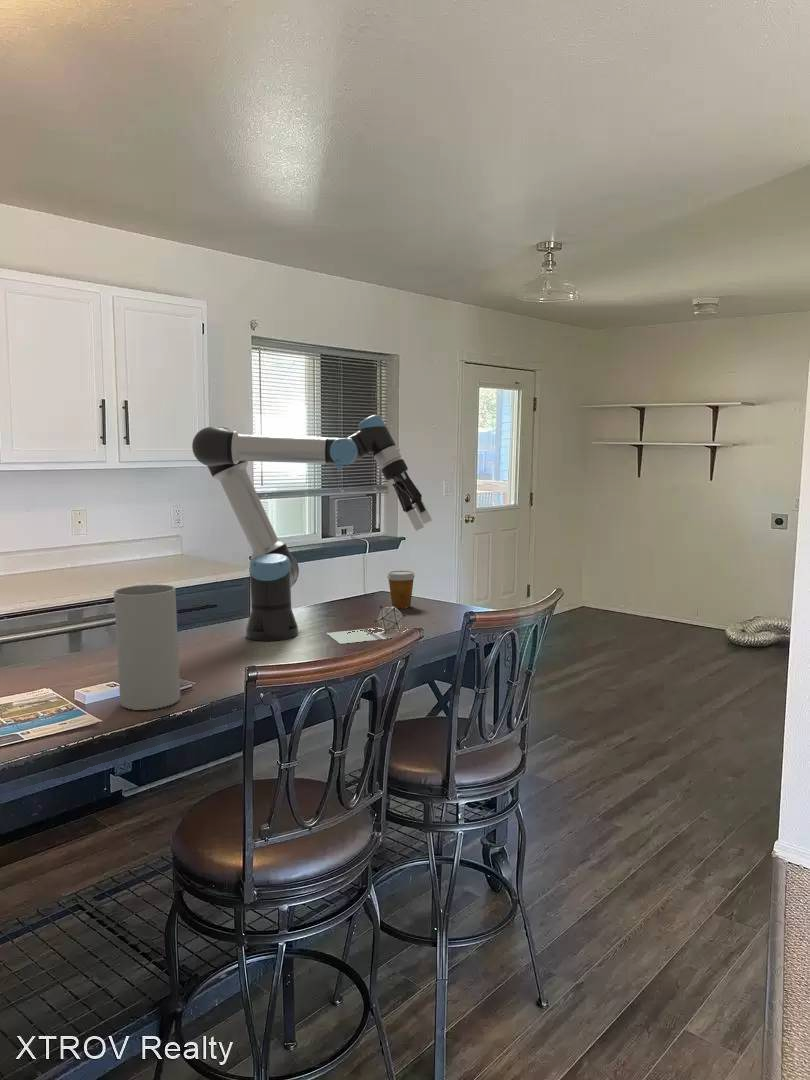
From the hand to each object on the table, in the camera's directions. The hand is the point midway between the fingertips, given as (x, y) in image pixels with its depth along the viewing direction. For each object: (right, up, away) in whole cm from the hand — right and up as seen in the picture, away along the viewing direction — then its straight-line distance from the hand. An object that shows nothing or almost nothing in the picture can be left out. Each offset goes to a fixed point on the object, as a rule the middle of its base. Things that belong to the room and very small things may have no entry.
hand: (423, 525), depth 236 cm
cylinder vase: (-61, -40, -65) cm, 98 cm away
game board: (-15, -32, -6) cm, 36 cm away
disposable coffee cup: (-7, -27, +34) cm, 45 cm away
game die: (-10, -32, -3) cm, 33 cm away
